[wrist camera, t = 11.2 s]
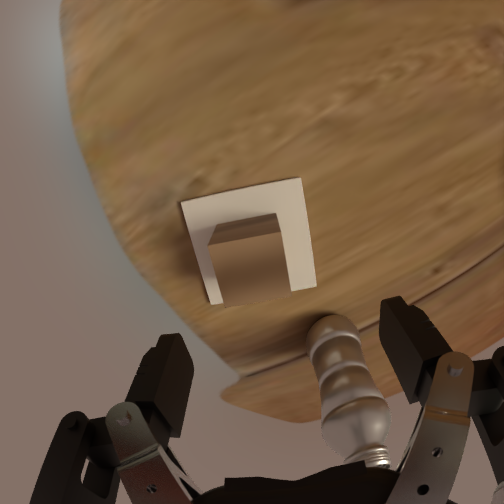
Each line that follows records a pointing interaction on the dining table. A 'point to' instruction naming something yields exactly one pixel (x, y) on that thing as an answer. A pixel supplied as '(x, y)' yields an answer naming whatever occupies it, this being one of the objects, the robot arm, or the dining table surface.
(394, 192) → the dining table surface
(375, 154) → the dining table surface
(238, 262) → the cube
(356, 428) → the plastic bottle
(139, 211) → the dining table surface
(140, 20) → the dining table surface
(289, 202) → the plate
